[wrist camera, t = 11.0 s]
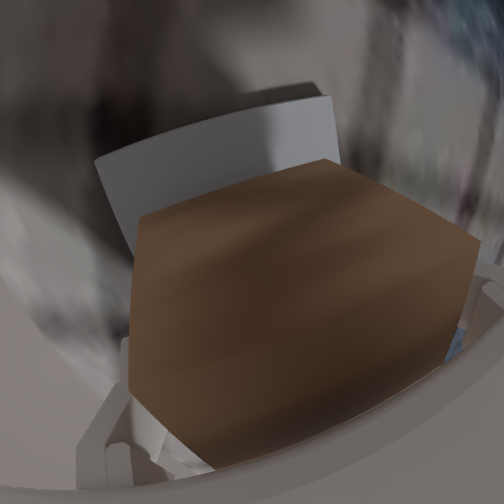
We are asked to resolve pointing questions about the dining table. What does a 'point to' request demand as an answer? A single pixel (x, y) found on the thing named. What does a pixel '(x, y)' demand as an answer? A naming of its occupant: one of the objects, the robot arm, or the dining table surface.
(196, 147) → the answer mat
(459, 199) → the dining table surface
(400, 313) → the walnut cube
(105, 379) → the dining table surface
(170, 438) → the dining table surface
